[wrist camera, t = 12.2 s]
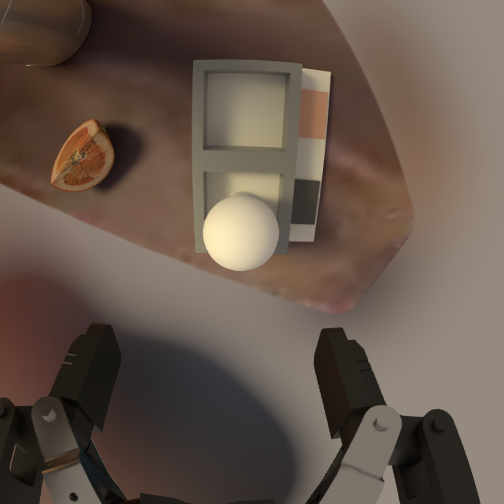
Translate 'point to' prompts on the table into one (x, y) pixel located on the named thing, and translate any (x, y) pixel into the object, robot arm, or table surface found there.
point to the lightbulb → (240, 232)
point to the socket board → (259, 140)
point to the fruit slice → (83, 158)
